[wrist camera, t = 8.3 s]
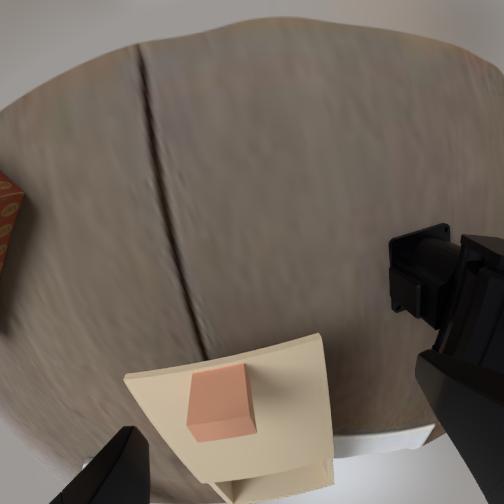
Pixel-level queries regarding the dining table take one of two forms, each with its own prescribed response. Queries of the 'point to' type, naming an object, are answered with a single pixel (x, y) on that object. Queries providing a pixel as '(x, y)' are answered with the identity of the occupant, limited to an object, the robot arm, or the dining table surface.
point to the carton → (7, 212)
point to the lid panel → (243, 410)
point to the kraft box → (277, 484)
